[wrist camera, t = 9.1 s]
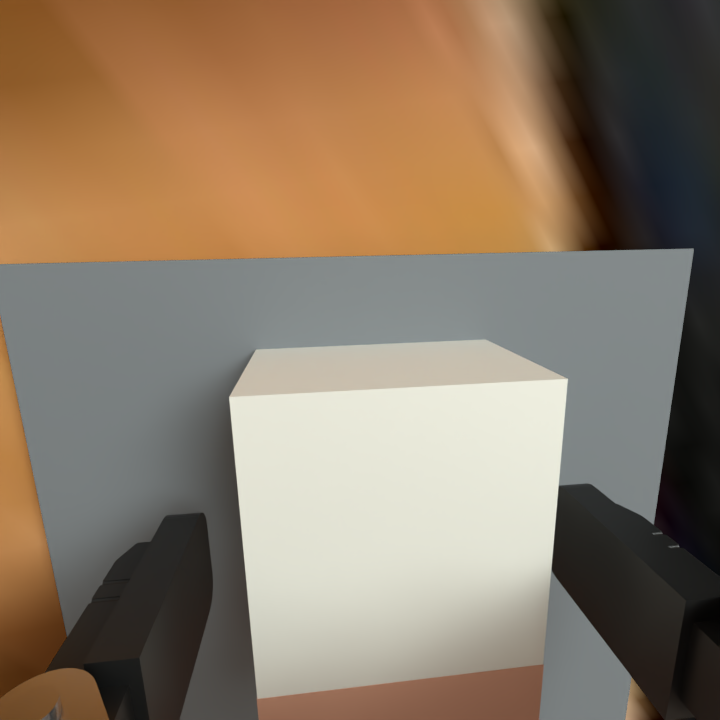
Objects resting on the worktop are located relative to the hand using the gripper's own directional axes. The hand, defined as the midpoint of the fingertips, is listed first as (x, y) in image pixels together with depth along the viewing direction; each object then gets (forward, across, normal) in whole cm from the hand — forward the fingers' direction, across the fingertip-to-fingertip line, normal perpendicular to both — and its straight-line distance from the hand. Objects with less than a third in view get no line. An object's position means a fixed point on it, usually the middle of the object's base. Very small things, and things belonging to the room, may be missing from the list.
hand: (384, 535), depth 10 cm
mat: (+2, 0, +6) cm, 6 cm away
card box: (+2, 0, 0) cm, 2 cm away
